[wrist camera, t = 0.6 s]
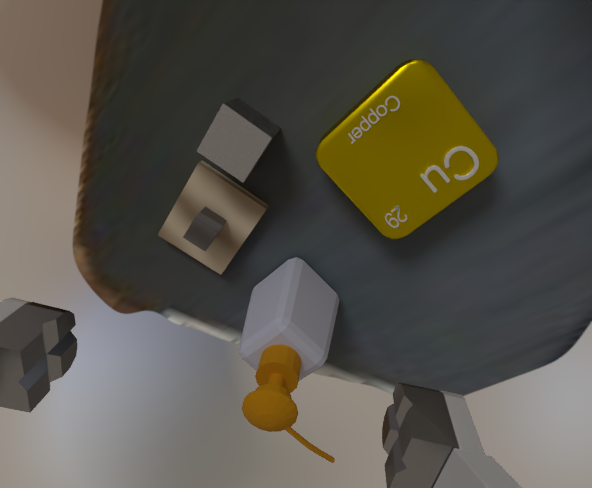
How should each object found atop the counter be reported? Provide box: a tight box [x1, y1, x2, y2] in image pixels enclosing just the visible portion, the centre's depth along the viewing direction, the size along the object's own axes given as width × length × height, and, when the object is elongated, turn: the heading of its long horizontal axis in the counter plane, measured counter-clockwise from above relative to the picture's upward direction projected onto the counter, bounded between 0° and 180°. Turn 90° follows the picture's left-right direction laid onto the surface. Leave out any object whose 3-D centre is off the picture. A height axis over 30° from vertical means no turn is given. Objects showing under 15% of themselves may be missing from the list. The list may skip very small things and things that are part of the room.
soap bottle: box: [239, 257, 340, 463], centre depth 47 cm, size 10×14×22 cm
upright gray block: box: [197, 98, 281, 182], centre depth 45 cm, size 6×6×6 cm
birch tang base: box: [158, 160, 269, 275], centre depth 50 cm, size 12×10×6 cm
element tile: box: [316, 59, 499, 239], centre depth 45 cm, size 15×15×5 cm
